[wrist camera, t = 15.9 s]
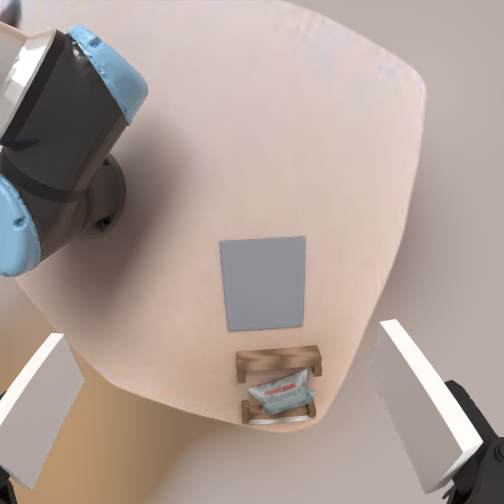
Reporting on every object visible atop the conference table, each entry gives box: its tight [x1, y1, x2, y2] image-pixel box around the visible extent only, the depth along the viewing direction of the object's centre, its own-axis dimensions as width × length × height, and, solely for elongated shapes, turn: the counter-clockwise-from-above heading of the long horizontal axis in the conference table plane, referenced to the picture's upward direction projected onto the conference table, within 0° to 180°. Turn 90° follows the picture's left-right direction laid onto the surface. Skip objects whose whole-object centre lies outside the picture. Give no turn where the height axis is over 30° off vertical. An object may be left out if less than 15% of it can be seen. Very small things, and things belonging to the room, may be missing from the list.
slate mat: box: [220, 236, 305, 331], centre depth 48 cm, size 13×16×1 cm
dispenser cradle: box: [236, 345, 322, 425], centre depth 54 cm, size 15×18×5 cm
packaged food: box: [248, 368, 315, 414], centre depth 54 cm, size 9×12×5 cm
